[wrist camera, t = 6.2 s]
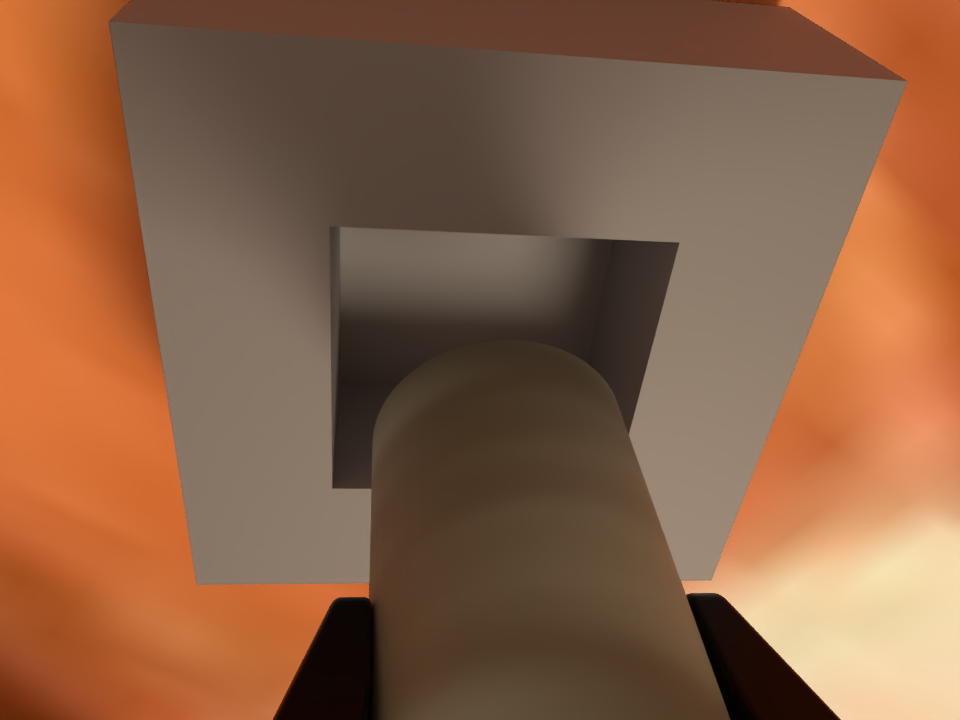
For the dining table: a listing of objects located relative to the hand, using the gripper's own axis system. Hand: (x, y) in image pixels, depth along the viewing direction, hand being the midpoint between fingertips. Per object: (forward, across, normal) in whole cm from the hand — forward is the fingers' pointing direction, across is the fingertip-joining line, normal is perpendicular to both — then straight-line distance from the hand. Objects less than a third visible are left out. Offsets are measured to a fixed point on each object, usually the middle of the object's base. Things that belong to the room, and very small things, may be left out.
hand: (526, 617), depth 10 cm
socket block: (+8, 0, 0) cm, 9 cm away
